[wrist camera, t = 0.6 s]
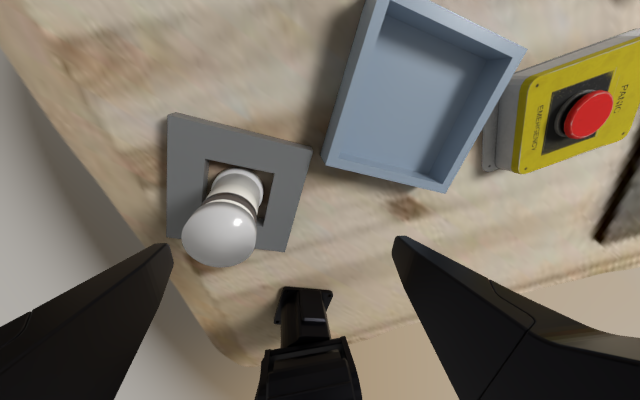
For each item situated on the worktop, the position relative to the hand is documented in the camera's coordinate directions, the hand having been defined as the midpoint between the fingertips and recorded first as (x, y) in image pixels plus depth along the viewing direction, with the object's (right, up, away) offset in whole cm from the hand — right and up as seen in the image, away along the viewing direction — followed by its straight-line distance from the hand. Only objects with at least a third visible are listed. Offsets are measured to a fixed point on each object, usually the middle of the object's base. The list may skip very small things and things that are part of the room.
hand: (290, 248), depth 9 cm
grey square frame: (-6, +3, +12) cm, 14 cm away
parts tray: (+8, +10, +11) cm, 17 cm away
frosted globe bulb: (-6, +3, +12) cm, 14 cm away
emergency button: (+24, +11, +14) cm, 30 cm away
